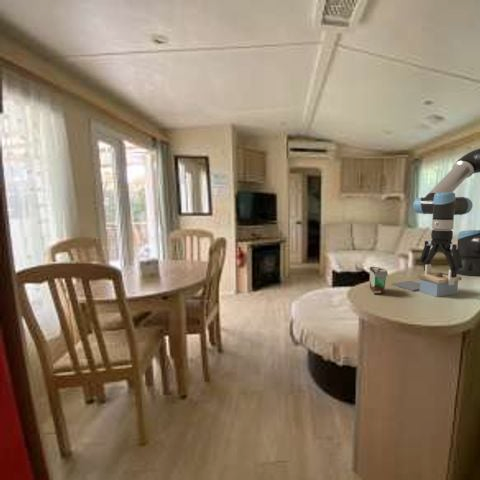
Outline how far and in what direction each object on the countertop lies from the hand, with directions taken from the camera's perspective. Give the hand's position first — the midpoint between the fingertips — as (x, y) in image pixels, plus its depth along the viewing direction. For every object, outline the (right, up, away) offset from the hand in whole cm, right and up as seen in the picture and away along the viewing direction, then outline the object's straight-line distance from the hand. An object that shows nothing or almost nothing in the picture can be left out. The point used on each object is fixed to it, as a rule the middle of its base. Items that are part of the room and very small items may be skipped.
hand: (438, 281), depth 134 cm
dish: (0, -5, +1) cm, 5 cm away
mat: (-6, -4, +11) cm, 13 cm away
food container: (-24, -5, +3) cm, 25 cm away
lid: (0, +1, 0) cm, 1 cm away
